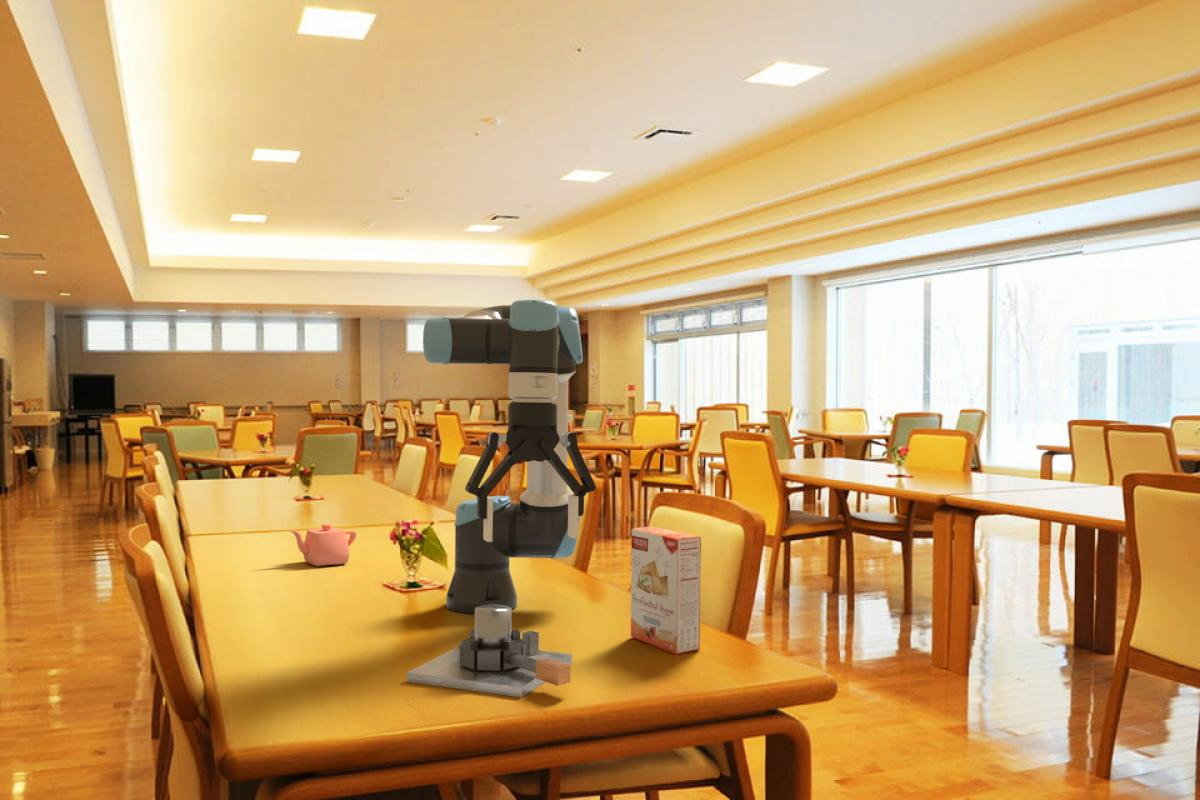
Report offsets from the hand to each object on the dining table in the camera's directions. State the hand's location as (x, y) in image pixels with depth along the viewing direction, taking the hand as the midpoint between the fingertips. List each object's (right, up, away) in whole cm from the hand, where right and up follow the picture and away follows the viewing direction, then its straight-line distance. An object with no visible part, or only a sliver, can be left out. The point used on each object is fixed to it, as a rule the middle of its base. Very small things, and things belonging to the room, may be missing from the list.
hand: (530, 539), depth 147 cm
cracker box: (+22, -24, +29) cm, 44 cm away
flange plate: (-7, -23, +10) cm, 27 cm away
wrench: (-3, -22, +6) cm, 23 cm away
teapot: (-62, -22, +105) cm, 124 cm away
